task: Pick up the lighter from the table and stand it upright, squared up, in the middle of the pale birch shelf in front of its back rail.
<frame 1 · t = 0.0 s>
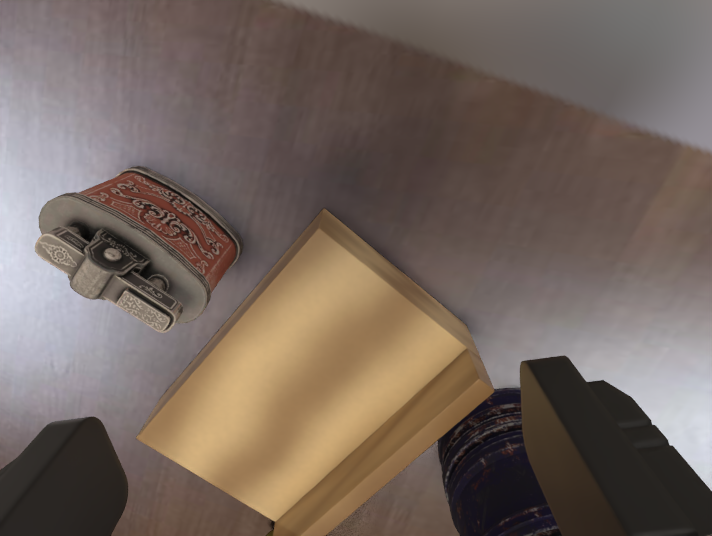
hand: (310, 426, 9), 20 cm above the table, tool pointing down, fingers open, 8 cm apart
lighter: (183, 216, 29), on the table
dark blue cylinder: (503, 441, 35), on the table
shelf: (308, 363, 32), on the table
lime: (294, 529, 38), on the table
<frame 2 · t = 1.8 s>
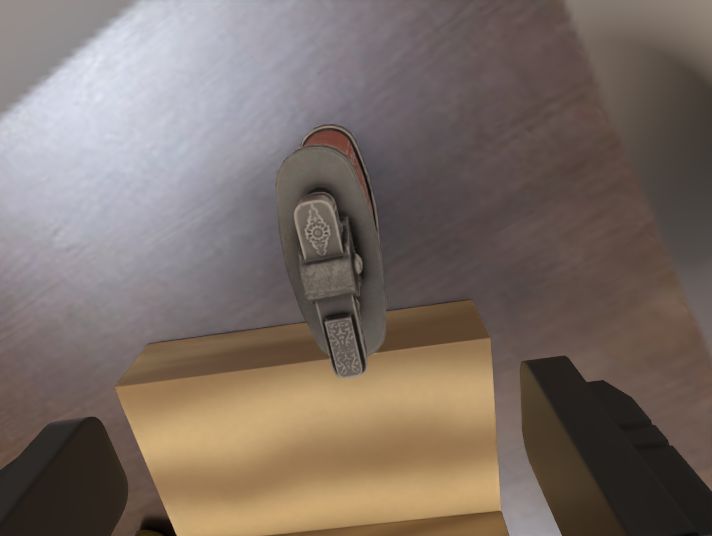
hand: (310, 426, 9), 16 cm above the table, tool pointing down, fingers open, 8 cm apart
lighter: (341, 206, 24), on the table
shelf: (326, 410, 28), on the table
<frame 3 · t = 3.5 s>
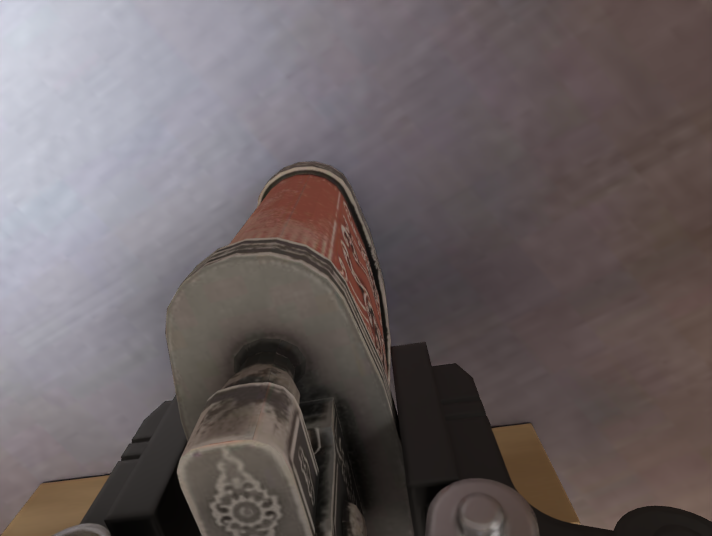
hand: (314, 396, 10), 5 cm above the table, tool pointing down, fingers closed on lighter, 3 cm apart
lighter: (330, 289, 15), on the table, touching gripper
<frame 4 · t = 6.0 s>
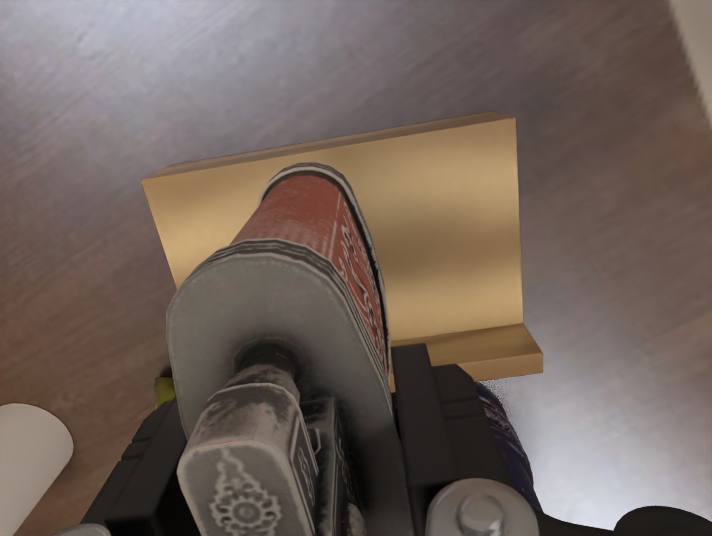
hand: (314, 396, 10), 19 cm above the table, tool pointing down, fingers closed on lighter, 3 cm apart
lighter: (330, 289, 15), point 13 cm above the table, touching gripper
candle: (29, 436, 34), on the table
dark blue cylinder: (437, 429, 34), on the table
shelf: (346, 241, 28), on the table
lime: (182, 391, 33), on the table
when the fingers open (9 cm above the table, at t = 8.5 s): lighter stays where it is, resting on shelf.
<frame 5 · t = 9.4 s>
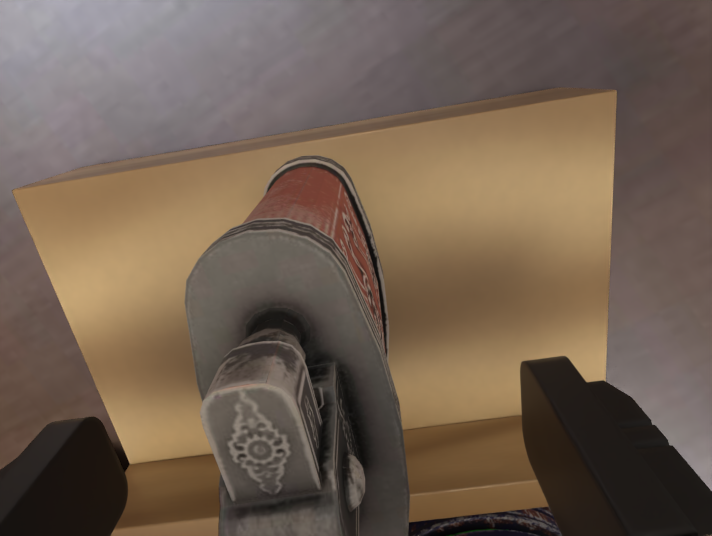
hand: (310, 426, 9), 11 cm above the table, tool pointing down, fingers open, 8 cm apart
lighter: (331, 277, 16), point 4 cm above the table, touching shelf
dark blue cylinder: (464, 522, 25), on the table
shelf: (341, 276, 20), on the table
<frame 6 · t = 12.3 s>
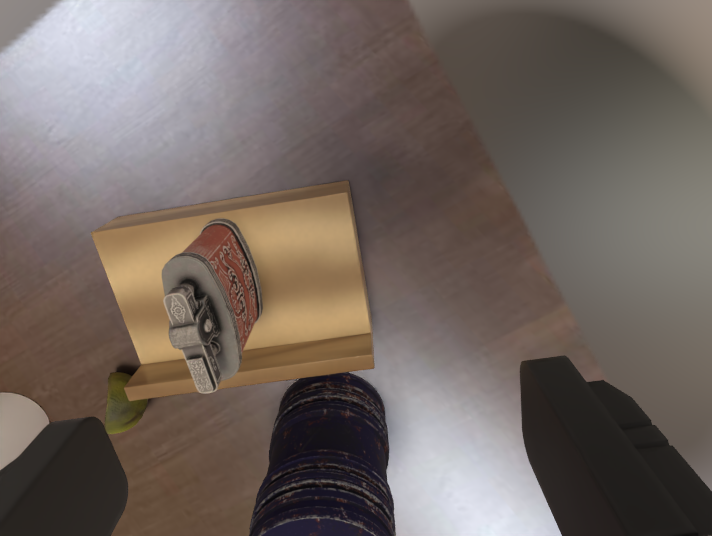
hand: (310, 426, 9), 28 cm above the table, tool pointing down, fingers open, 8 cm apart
lighter: (234, 271, 34), point 4 cm above the table, touching shelf
candle: (15, 418, 44), on the table
dark blue cylinder: (332, 413, 44), on the table
shelf: (250, 271, 38), on the table
lime: (133, 383, 43), on the table
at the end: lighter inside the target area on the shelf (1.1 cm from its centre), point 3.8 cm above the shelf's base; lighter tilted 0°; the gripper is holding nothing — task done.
